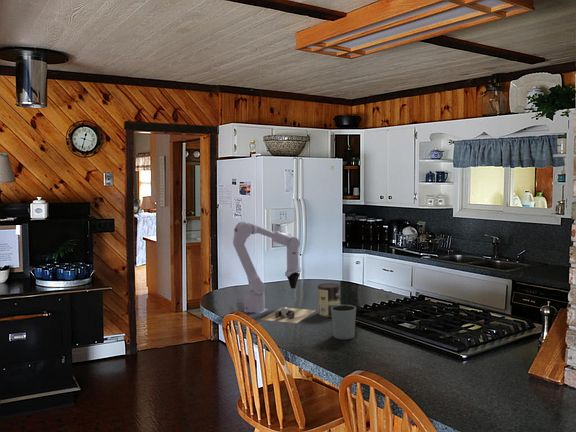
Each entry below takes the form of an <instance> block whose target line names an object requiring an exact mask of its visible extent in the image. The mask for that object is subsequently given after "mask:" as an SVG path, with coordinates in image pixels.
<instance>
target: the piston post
mask: <svg viewBox="0 0 576 432" xmlns="http://www.w3.org/2000/svg"><path fill="white" fill-rule="evenodd" d="M280 308H281V318H288V308H289V307H288V306H282V307H280Z"/></svg>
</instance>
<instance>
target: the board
mask: <svg viewBox="0 0 576 432" xmlns="http://www.w3.org/2000/svg"><path fill="white" fill-rule="evenodd" d="M281 308H282V307H280V308H278V309H276V310H275V311H273V312H272V313H270V314H268V315H266V316H264V317H262V318H261V319H260V320H261V321H271V322H280V323H289V324H290V323H292V324H298V323H300V322H301V321H302V320H303V321H304V319H306V318H308V317H309V316H310V315H311V314H313V313H314V312H316V311H317V310H316V309H306V308H304V309H303V308H293V307H288V310H293V311H295V318H293V319H289V317H288V318H281V316H280V317H279V318H275V312H276V311H279V310H281Z"/></svg>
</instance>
